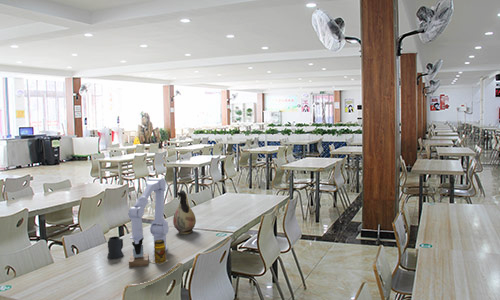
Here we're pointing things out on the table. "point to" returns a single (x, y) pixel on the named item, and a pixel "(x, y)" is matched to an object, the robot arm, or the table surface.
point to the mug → (115, 248)
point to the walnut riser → (139, 260)
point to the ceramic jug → (184, 216)
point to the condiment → (159, 252)
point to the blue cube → (138, 254)
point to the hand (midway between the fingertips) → (138, 252)
